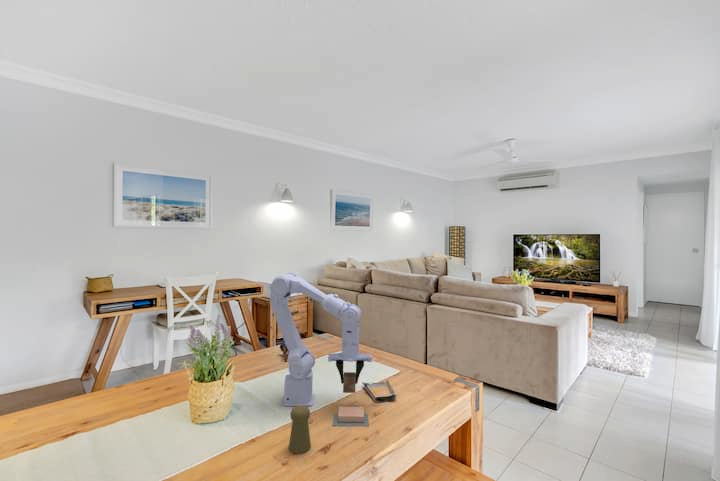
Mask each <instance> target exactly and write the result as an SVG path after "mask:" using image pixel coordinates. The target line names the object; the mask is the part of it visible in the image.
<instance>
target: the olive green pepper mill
mask: <svg viewBox="0 0 720 481" xmlns="http://www.w3.org/2000/svg"><path fill="white" fill-rule="evenodd" d="M291 409H292V410H291V412H290V419H291V421H292V424H291V430H290V435H289V436H290V438H289V442H288V451H289V452H290V453H291V454H293V455H303V454H306V453H308V452H310V450H311V446H312V445H311V444H312V443H311V436H310V435H311V434H310V426H309V419H310V417H311V411H310V410H311V409H309V406H302V405H300V406H293V408H291Z"/></svg>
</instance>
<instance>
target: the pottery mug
mask: <svg viewBox="0 0 720 481" xmlns="http://www.w3.org/2000/svg"><path fill="white" fill-rule="evenodd" d="M279 350H281V352H282V354H283V360H284V362H288V354H289V351H288V349H287V346H286V344H285V342H281V343H280V344H279Z"/></svg>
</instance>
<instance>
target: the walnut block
mask: <svg viewBox="0 0 720 481" xmlns="http://www.w3.org/2000/svg"><path fill="white" fill-rule="evenodd" d="M343 377H344V379H343V384H342V387H343V388H342V393H343V394H344V393H345V394H346V393H348V394H355V393H356V386H357V384H356V371H355V372H353V371H351V372H347V371H345V372H344V371H343Z"/></svg>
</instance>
